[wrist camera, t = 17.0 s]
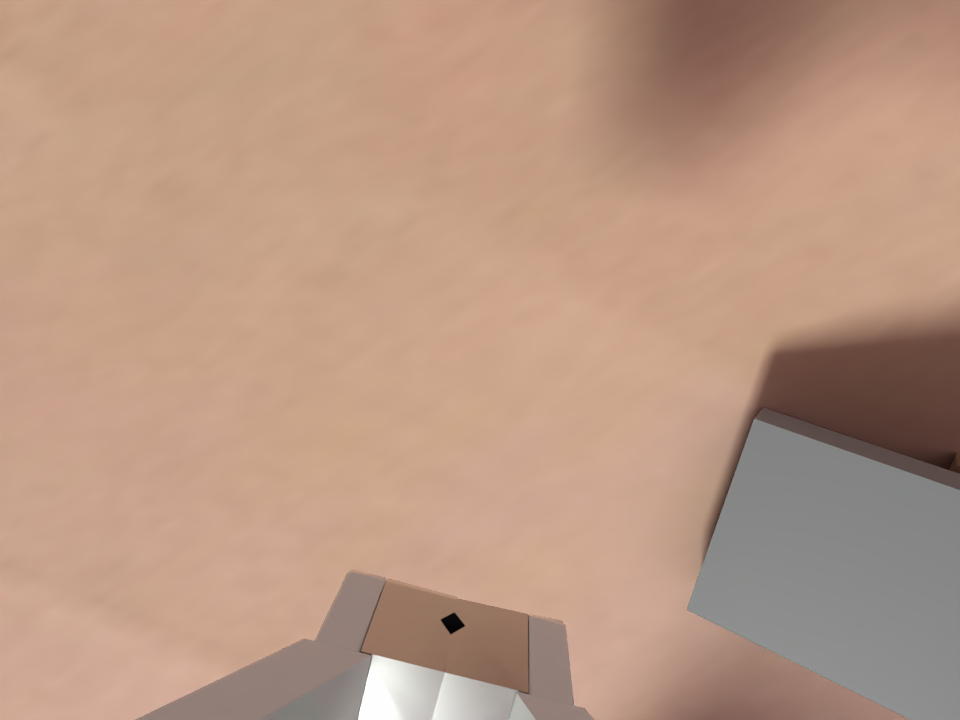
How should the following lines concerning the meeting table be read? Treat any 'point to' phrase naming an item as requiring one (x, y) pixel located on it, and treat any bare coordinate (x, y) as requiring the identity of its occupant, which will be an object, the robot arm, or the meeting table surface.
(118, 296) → the meeting table surface
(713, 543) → the gray domino
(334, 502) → the meeting table surface
